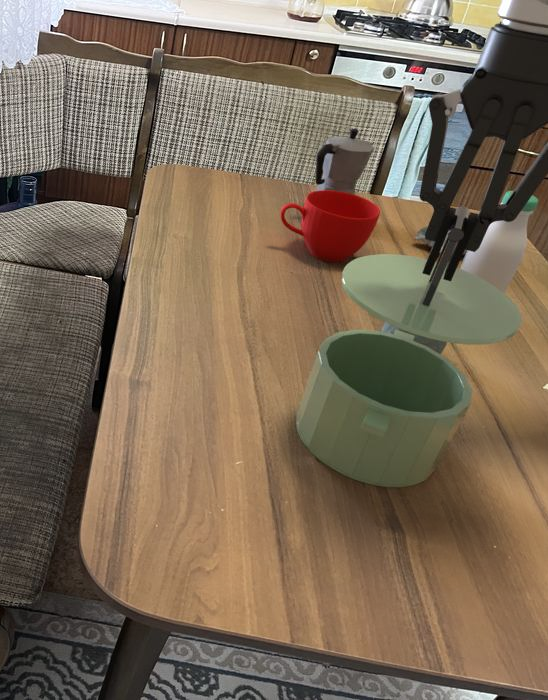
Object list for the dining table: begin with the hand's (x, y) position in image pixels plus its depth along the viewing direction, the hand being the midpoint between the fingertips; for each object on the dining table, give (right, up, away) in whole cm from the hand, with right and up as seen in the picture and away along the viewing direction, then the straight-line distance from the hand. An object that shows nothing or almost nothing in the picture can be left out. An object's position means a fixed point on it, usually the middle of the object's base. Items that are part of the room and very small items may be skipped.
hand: (437, 272), depth 71 cm
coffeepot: (+14, +20, +73) cm, 77 cm away
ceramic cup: (+7, +10, +57) cm, 58 cm away
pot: (-2, -19, +13) cm, 23 cm away
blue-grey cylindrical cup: (+12, -8, +31) cm, 34 cm away
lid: (0, -3, +2) cm, 3 cm away
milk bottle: (+28, -1, +44) cm, 52 cm away
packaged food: (+35, +11, +62) cm, 72 cm away
